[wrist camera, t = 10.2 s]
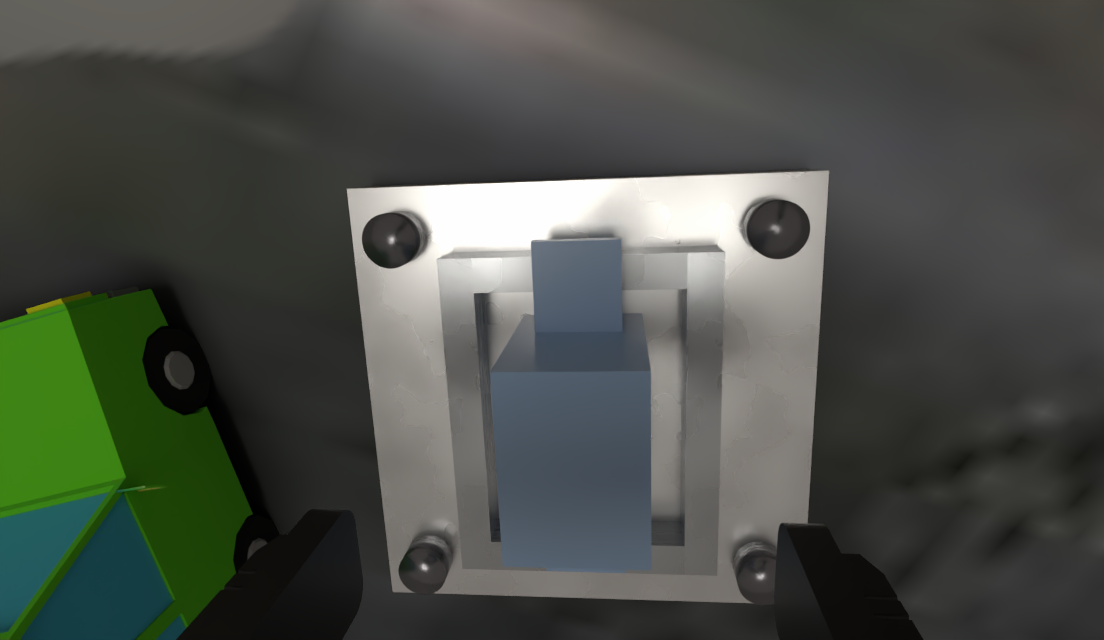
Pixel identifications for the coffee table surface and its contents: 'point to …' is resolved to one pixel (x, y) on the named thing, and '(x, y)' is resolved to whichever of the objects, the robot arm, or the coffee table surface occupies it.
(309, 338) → the coffee table surface
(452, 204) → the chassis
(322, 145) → the coffee table surface
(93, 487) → the toy car
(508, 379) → the block
